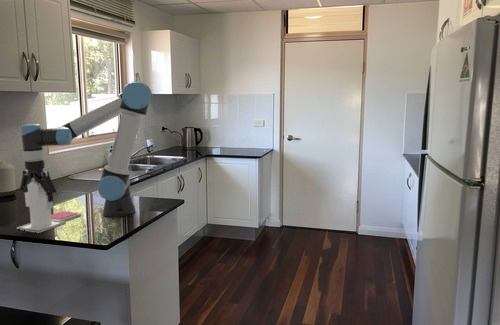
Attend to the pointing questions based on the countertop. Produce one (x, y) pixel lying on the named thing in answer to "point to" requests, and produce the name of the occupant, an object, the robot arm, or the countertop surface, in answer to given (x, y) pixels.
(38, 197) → the milk
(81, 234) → the countertop surface
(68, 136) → the robot arm
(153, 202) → the countertop surface
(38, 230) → the marked square
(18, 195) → the countertop surface
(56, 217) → the ink pad
